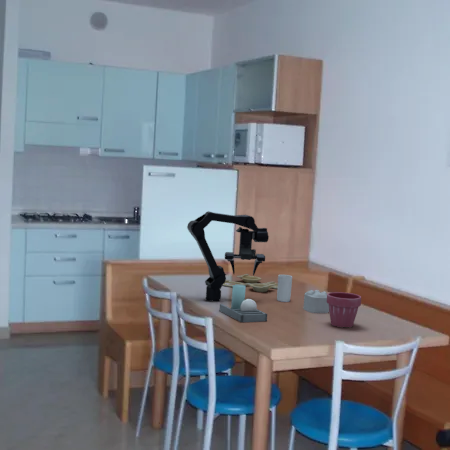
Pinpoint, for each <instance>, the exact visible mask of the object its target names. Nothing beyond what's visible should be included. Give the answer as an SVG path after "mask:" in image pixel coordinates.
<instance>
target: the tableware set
mask: <svg viewBox="0 0 450 450" xmlns="http://www.w3.org/2000/svg"><path fill="white" fill-rule="evenodd" d="M236 278H239V279H240V280H242V281H243V282H240V281H239V282H238V281H230V279H226V281H225V283H233V284H239V285H245V286H249V287H251V288H252V289H253V291H254V292H257V293H266V292H268V290H269V289H275V290H277V289H278V282H276V281H268V282H263V283H258V282H259V281H261V280H262V277H260V276H255V275H254V276H253V275H250V274H249V273H245V274H241V275H236ZM225 283H224V284H223V285H222V286H224V287H228V288H233V285H227V284H225Z"/></svg>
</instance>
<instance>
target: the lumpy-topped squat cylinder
mask: <svg viewBox="0 0 450 450" xmlns="http://www.w3.org/2000/svg"><path fill="white" fill-rule="evenodd" d="M327 294H328V293H327V292H326V291H322V292H320V290H319V289H315V290H313V289H310V290H308V291H306V292H305V293H304V295H303V297H304V299H303V310H304V311H306V312H308V313H312V314H329V313H328V312H329V304H328V303H327Z"/></svg>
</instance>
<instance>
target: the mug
mask: <svg viewBox="0 0 450 450" xmlns="http://www.w3.org/2000/svg"><path fill="white" fill-rule="evenodd" d="M277 283H278V289H276V290H277V291H276V292H277V293H276V301H278V302H282V303H289V302H291V294H292V285H293V284H292V283H293V276H292V275H290V274H278V276H277Z"/></svg>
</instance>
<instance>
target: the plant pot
mask: <svg viewBox="0 0 450 450" xmlns="http://www.w3.org/2000/svg"><path fill="white" fill-rule="evenodd" d="M327 303H328V304H329V313H328V314H329V318H330V325H332V326H333V327H336V326H337V328H343V327H349V328H352V326H354V324H355V320H356V318H357V315H358V314H357V313H358V310H359V308H360V307H361V306H362V296H361V295H359V294H357V293H351V292H341V291H340V292H339V291H335V292H332V291H331V292H328V293H327Z"/></svg>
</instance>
